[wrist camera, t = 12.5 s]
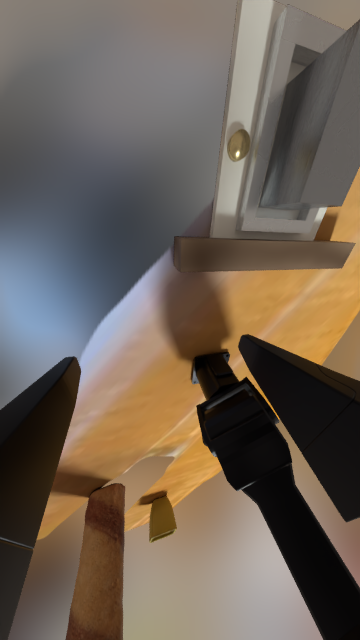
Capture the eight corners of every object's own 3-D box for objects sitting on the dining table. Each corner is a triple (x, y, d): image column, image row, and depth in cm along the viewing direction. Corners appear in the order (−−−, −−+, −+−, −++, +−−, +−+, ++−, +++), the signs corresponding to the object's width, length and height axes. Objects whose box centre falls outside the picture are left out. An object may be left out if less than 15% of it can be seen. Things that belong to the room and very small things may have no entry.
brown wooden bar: (319, 263, 24) (342, 268, 21) (173, 265, 18) (180, 272, 16) (330, 240, 22) (355, 243, 19) (174, 236, 17) (181, 238, 14)
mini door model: (307, 240, 21) (322, 241, 19) (209, 237, 18) (217, 238, 16) (379, 61, 14) (412, 39, 12) (237, 1, 11) (256, -39, 9)
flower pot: (168, 499, 66) (173, 534, 59) (147, 506, 64) (149, 544, 56) (171, 492, 62) (177, 528, 55) (149, 499, 59) (151, 538, 52)
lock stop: (292, 210, 18) (341, 206, 14) (258, 207, 17) (299, 202, 13) (329, 97, 14) (415, 42, 10) (287, 84, 13) (362, 16, 9)
